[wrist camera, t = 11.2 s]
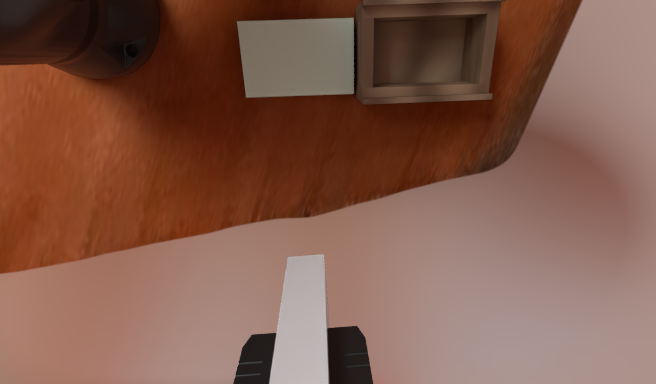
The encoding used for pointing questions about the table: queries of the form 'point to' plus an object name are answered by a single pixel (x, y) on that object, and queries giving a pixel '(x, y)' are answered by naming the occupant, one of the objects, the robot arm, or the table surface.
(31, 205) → the table surface
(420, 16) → the box
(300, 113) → the table surface
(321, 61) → the lid
